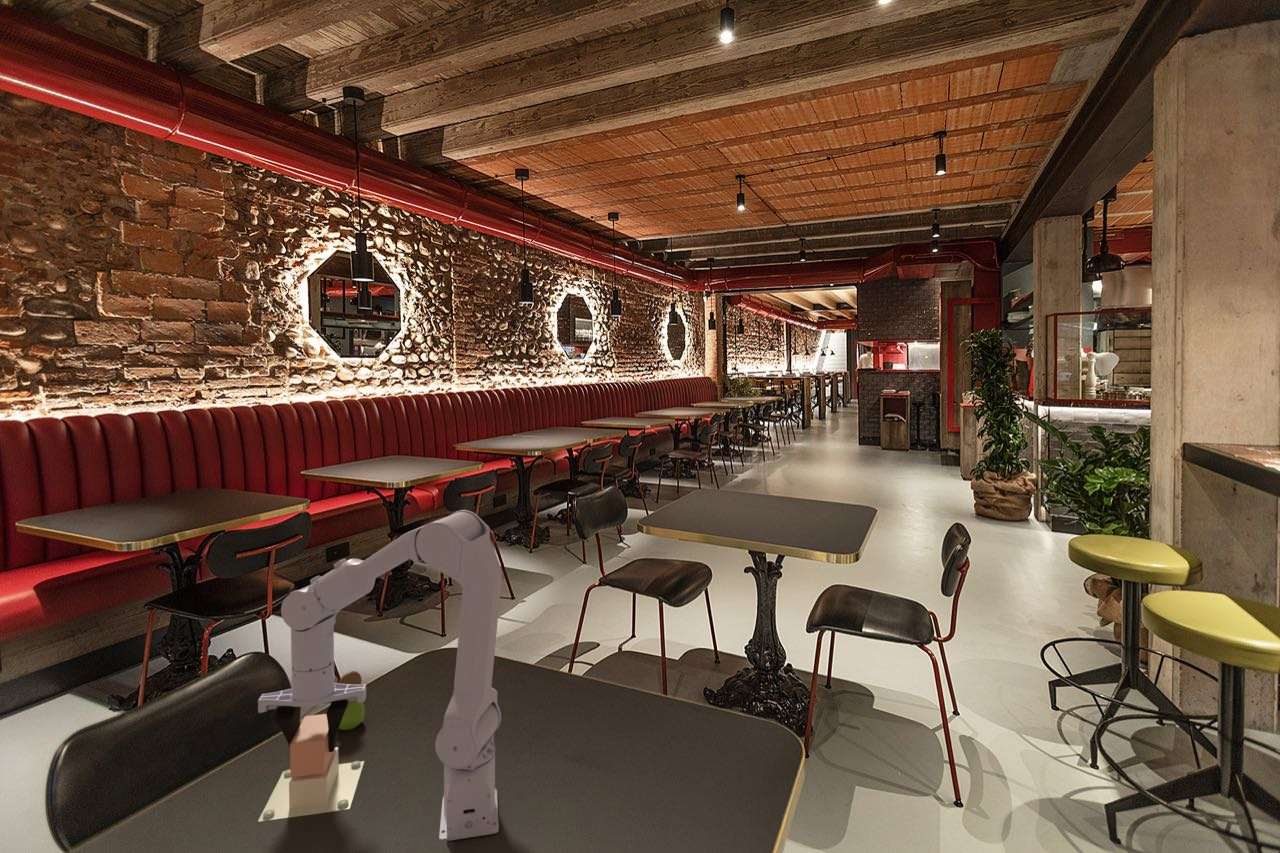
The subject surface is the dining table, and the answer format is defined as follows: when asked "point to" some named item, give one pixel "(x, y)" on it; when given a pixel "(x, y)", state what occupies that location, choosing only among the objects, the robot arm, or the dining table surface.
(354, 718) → the snail figurine
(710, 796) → the dining table surface
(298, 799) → the bottom brick
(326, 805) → the baseplate
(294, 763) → the top brick
